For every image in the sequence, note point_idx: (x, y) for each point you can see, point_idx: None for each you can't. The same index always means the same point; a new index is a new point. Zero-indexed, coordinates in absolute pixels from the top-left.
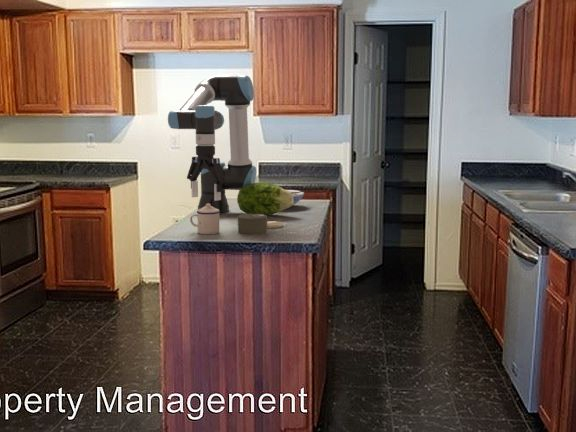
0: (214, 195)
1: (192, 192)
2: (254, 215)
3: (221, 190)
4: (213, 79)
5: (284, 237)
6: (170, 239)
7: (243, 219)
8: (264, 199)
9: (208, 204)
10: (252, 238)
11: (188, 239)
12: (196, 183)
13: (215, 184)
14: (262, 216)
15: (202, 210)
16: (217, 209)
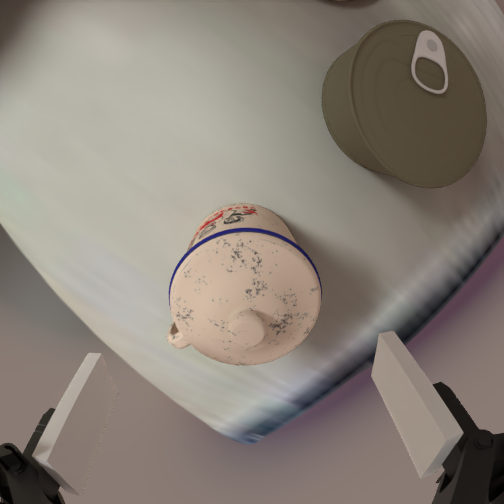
0: (384, 401)
1: (104, 421)
2: (414, 69)
3: (450, 389)
4: None
5: (500, 114)
6: (252, 405)
7: (435, 185)
8: None
9: (262, 339)
10: (454, 200)
11: (296, 373)
12: (65, 453)
13: (433, 468)
14: (452, 67)
15: (259, 359)
16: (294, 267)
